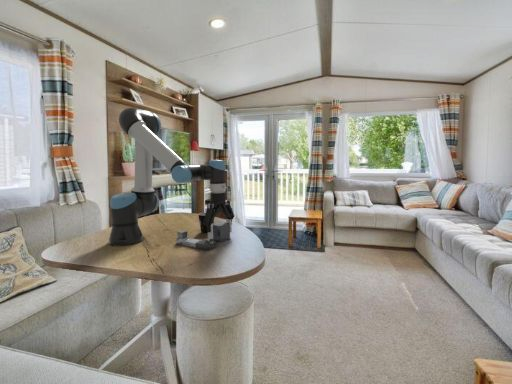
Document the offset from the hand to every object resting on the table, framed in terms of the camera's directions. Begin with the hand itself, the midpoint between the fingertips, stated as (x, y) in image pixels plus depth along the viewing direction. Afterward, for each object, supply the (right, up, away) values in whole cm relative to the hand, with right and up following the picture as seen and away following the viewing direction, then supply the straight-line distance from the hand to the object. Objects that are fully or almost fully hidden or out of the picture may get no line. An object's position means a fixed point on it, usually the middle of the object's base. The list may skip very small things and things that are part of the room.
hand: (220, 235), depth 141 cm
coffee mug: (-9, -1, +17) cm, 20 cm away
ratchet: (-11, -3, -8) cm, 14 cm away
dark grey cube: (0, -2, 0) cm, 2 cm away
